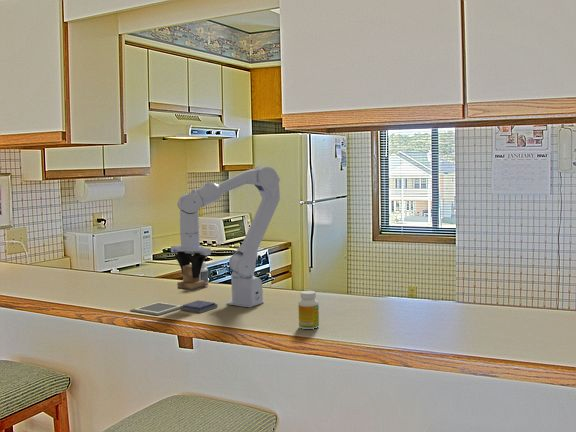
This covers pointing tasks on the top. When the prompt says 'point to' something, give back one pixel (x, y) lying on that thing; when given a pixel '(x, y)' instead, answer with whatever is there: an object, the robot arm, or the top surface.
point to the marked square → (157, 308)
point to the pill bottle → (204, 274)
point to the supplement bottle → (308, 310)
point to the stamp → (190, 280)
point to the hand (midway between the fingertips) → (191, 276)
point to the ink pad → (199, 306)
